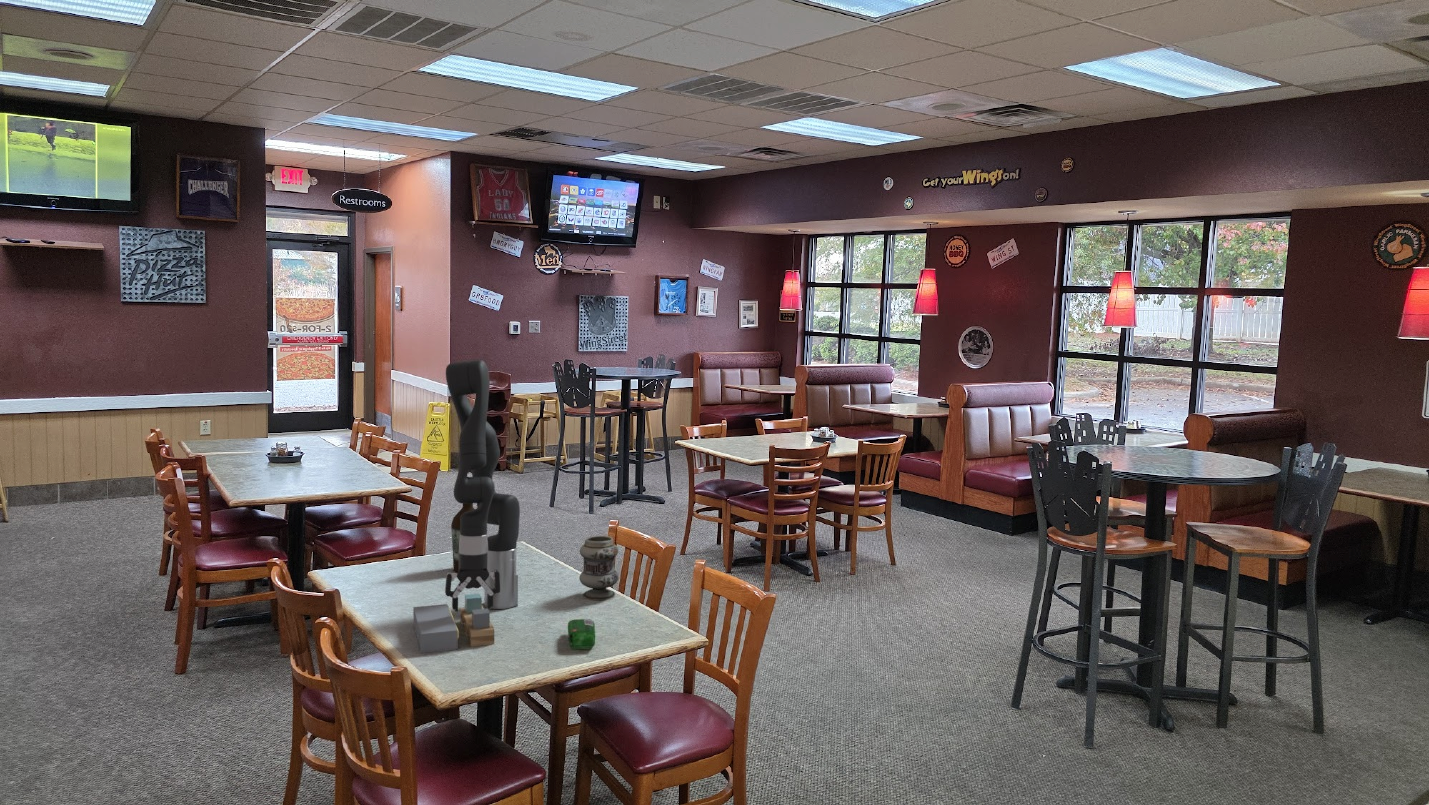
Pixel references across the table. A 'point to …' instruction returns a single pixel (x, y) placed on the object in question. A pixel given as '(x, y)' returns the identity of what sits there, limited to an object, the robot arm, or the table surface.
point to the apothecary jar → (599, 567)
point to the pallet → (476, 630)
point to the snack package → (581, 633)
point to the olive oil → (458, 533)
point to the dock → (435, 628)
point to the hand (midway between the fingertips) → (472, 609)
